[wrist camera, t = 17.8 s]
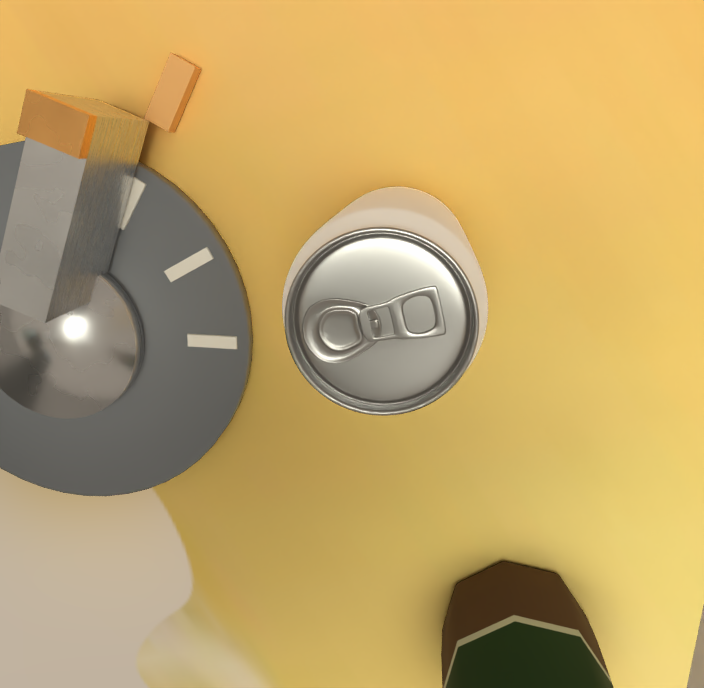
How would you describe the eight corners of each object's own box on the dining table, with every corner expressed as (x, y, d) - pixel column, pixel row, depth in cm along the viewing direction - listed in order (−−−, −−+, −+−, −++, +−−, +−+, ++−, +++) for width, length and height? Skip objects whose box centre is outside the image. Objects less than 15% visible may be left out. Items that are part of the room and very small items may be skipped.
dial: (119, 434, 33) (64, 486, 28) (-28, 373, 33) (-111, 414, 28) (209, 146, 28) (162, 146, 23) (37, 74, 28) (-47, 58, 23)
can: (312, 203, 30) (242, 240, 18) (452, 169, 29) (471, 186, 17) (346, 336, 31) (301, 446, 20) (479, 309, 30) (513, 408, 19)
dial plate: (-61, 473, 36) (-76, 484, 35) (-121, 135, 31) (-141, 134, 30) (255, 499, 34) (250, 510, 33) (249, 145, 29) (242, 145, 28)
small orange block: (174, 132, 29) (168, 131, 29) (151, 118, 29) (144, 118, 29) (201, 69, 28) (195, 66, 28) (177, 55, 28) (170, 52, 28)
